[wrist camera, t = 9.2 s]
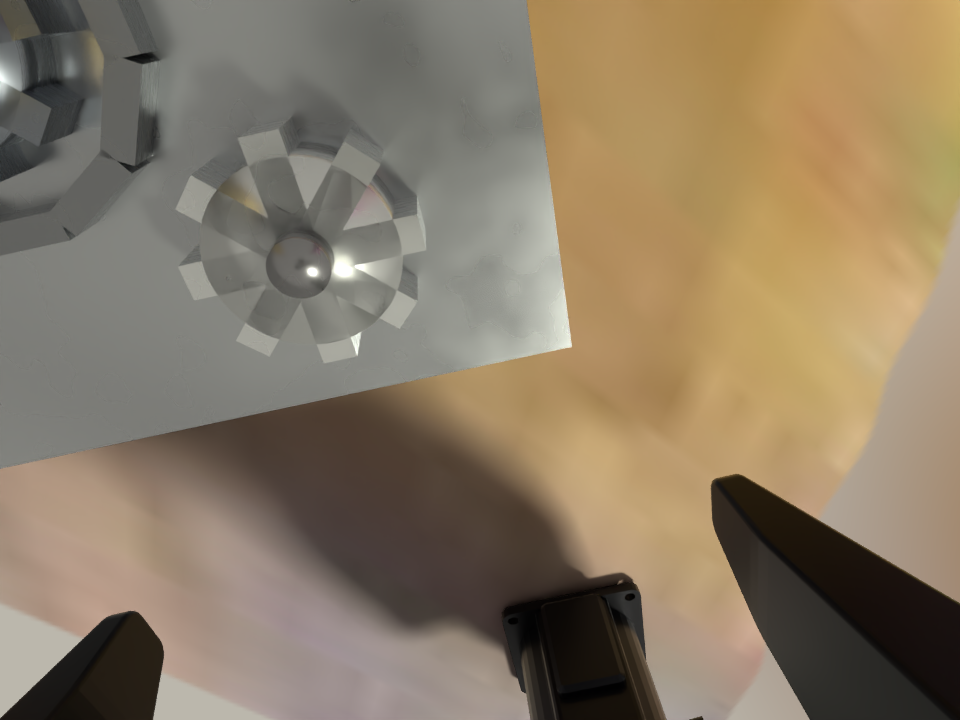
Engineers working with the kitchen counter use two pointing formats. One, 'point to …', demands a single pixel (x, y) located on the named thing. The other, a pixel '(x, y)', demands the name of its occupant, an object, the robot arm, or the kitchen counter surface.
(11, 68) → the gear
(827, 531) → the robot arm
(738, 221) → the kitchen counter surface
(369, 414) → the kitchen counter surface
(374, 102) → the carrier
